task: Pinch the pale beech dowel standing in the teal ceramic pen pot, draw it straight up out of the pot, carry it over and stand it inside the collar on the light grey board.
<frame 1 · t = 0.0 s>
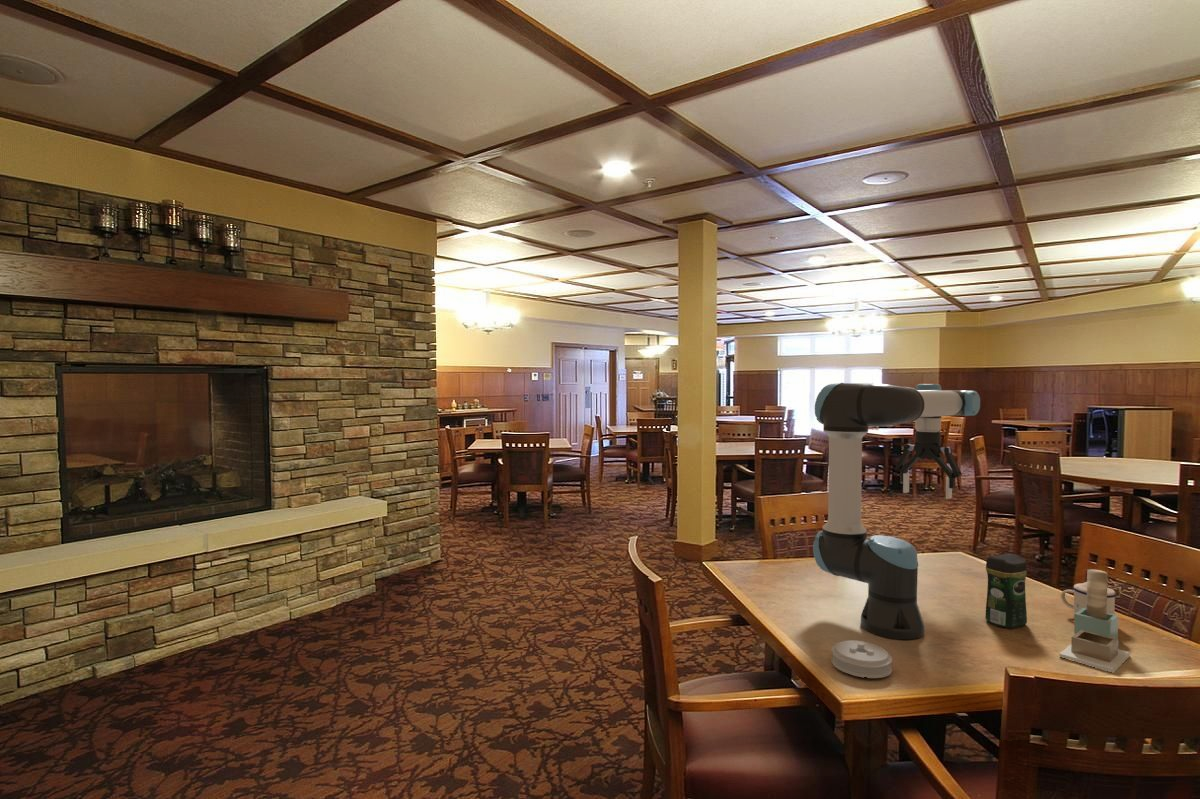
hand: (926, 495, 203), 28 cm above the table, tool pointing down, fingers open, 13 cm apart
pen pot: (1096, 638, 157), on the table
teacup with lid: (1087, 621, 169), on the table
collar: (1094, 645, 146), on the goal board, point 3 cm above the table
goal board: (1094, 657, 146), on the table
dowel: (1096, 604, 157), in the pen pot
lid: (861, 670, 140), on the table
coffee jar: (1005, 623, 167), on the table
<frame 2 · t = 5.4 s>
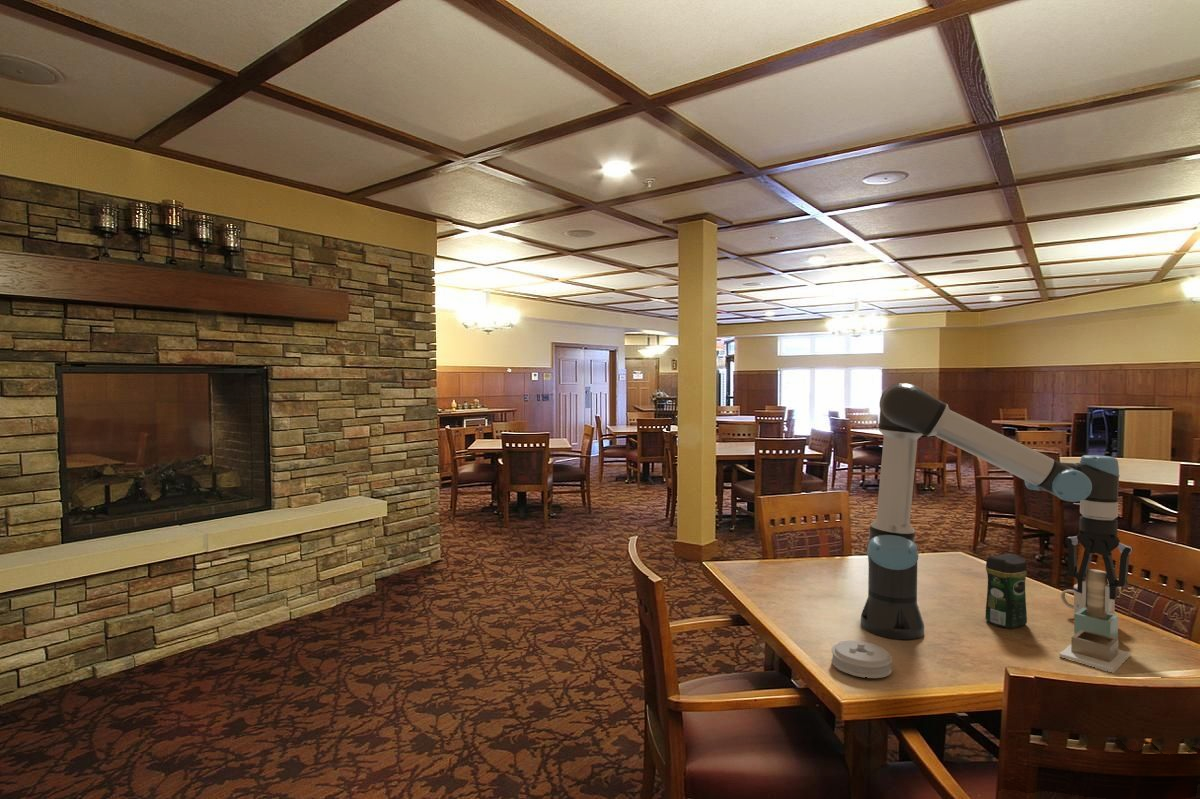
hand: (1096, 608, 157), 8 cm above the table, tool pointing down, fingers closed on dowel, 4 cm apart
dowel: (1096, 604, 157), in the pen pot, touching gripper
everything else where it was.
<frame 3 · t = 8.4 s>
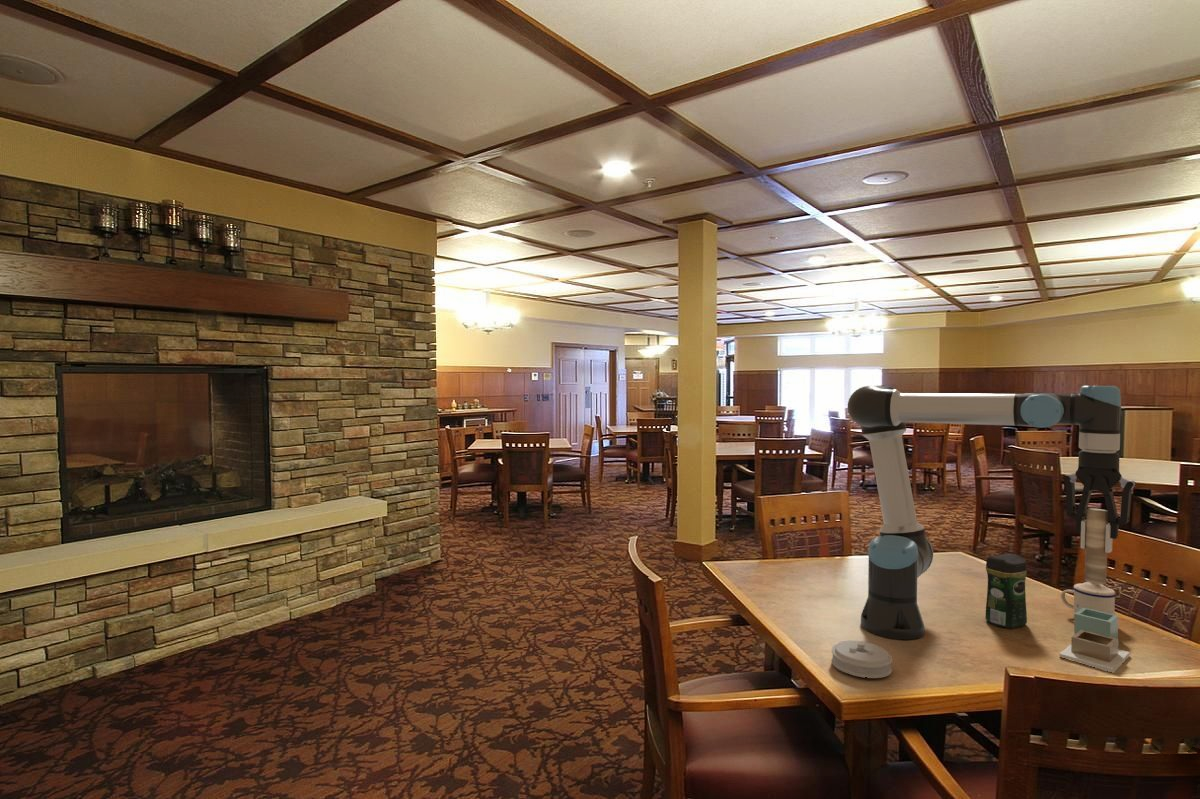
hand: (1096, 549, 146), 25 cm above the table, tool pointing down, fingers closed on dowel, 4 cm apart
dowel: (1096, 545, 146), point 26 cm above the table, touching gripper
everything else where it was.
when the fingers open (10 cm above the table, at t = 11.3 s): dowel drops 1 cm, resting on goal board.
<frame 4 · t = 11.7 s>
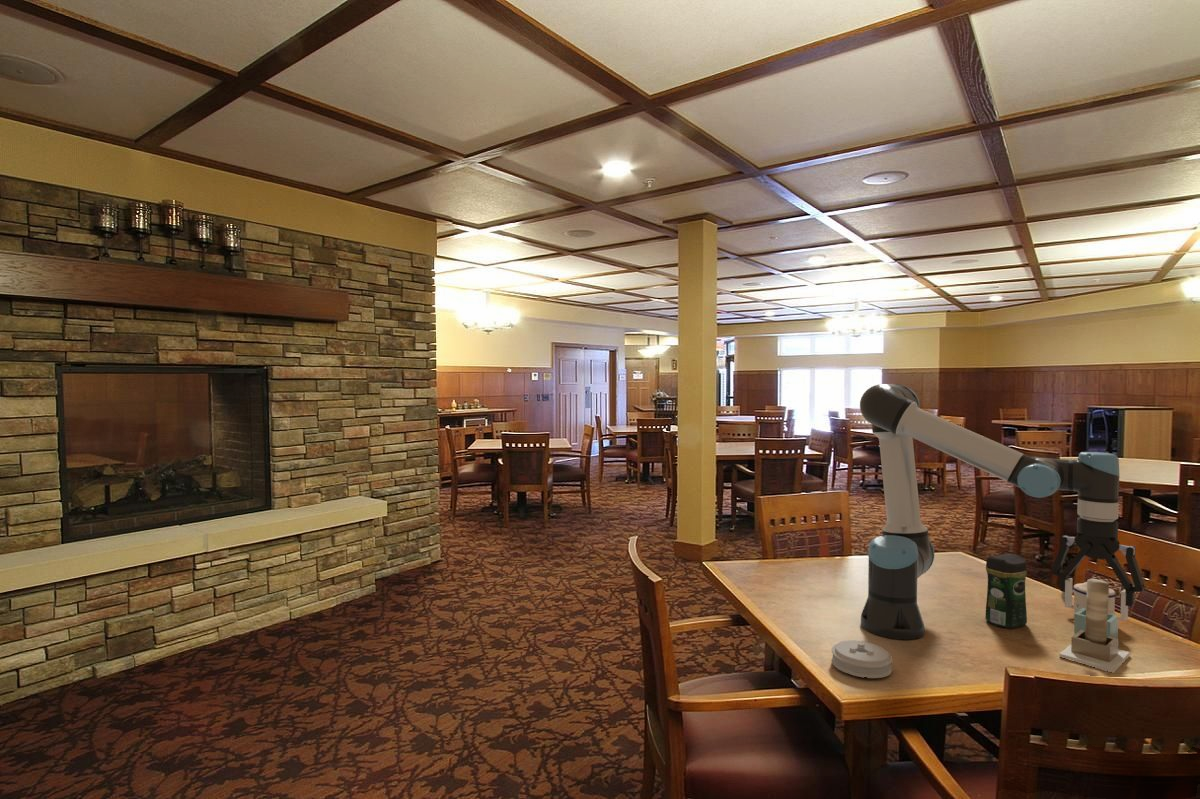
hand: (1095, 612, 146), 11 cm above the table, tool pointing down, fingers open, 10 cm apart
dowel: (1096, 617, 146), in the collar, point 10 cm above the table, touching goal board
everything else where it was.
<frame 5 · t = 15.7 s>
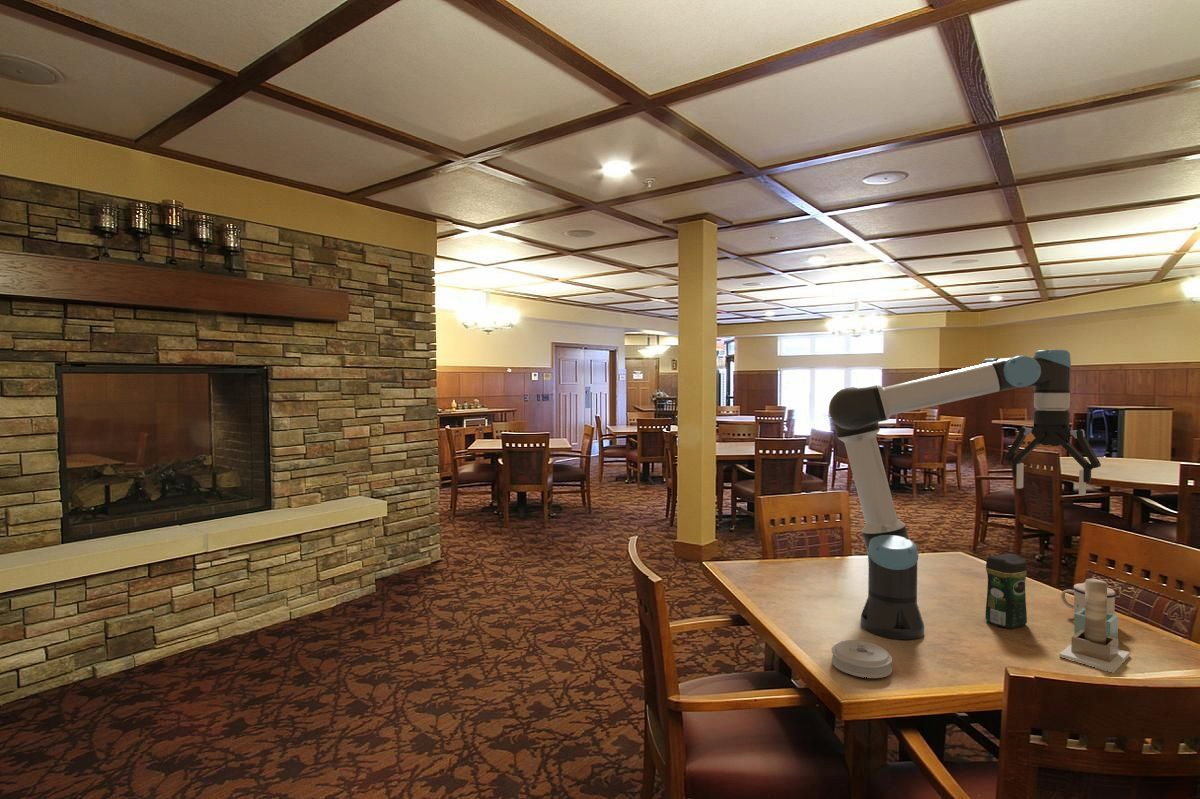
hand: (1050, 491, 160), 37 cm above the table, tool pointing down, fingers open, 13 cm apart
nothing on the table moved.
at the end: dowel 0.0 cm off-centre on the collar, point 9.5 cm above the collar's base; dowel tilted 0°; the gripper is holding nothing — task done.
